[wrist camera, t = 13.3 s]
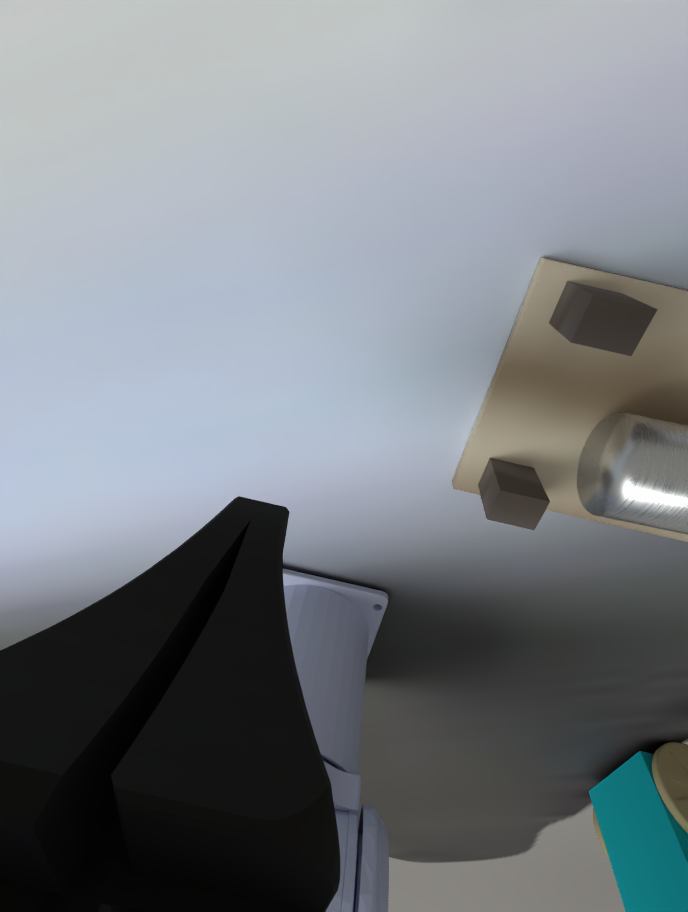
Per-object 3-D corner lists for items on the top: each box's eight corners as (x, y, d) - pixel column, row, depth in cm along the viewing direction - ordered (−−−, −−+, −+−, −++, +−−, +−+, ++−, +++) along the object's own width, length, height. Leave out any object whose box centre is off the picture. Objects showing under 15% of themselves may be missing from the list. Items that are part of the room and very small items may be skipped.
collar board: (738, 546, 21) (796, 607, 18) (452, 481, 21) (460, 530, 18) (922, 344, 16) (1049, 380, 13) (540, 257, 16) (574, 272, 13)
